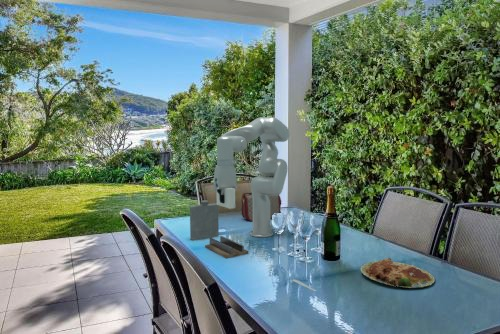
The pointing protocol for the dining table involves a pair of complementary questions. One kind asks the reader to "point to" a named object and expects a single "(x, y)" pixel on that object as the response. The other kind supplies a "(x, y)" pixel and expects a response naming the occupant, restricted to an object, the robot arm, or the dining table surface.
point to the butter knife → (303, 284)
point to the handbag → (248, 205)
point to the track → (226, 247)
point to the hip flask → (204, 221)
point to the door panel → (227, 198)
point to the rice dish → (397, 273)
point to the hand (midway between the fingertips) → (225, 202)
